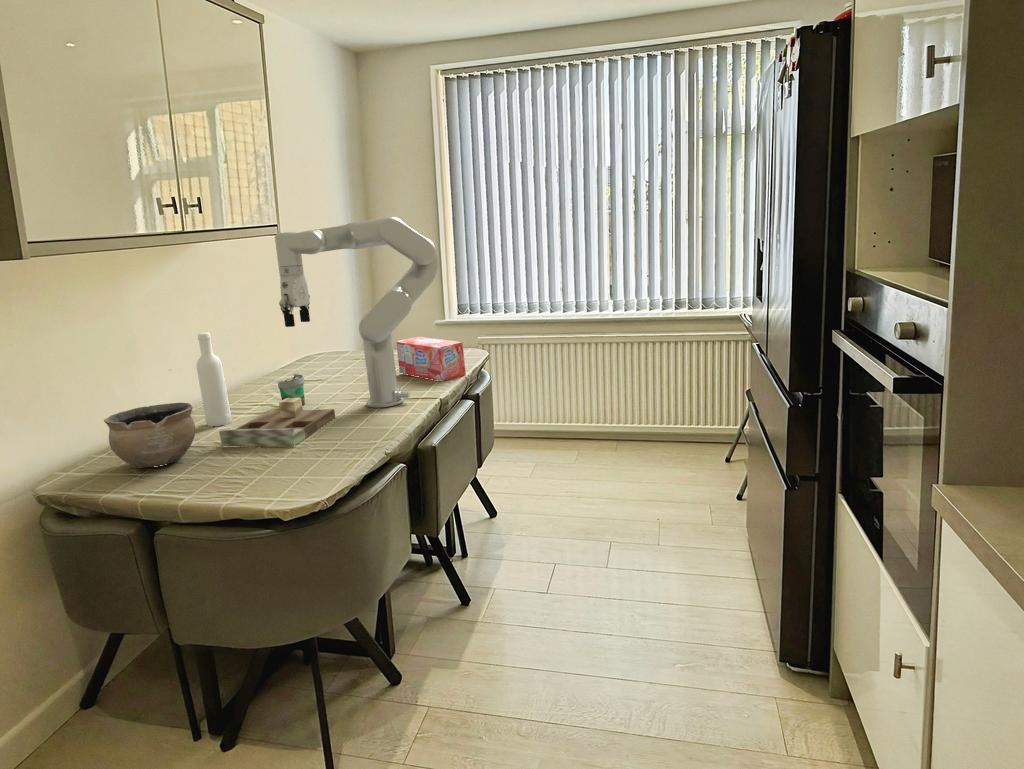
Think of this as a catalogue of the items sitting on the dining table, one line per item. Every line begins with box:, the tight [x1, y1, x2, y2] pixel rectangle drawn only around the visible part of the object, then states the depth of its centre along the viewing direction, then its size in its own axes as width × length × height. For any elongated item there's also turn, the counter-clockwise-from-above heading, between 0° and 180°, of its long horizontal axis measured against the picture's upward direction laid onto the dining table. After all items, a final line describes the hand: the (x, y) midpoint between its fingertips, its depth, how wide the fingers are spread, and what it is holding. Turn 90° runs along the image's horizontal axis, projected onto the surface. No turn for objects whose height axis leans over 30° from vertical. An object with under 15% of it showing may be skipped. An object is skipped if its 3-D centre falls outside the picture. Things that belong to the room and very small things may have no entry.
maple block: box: [278, 398, 304, 418], centre depth 237 cm, size 5×5×5 cm
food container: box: [277, 373, 306, 407], centre depth 261 cm, size 12×6×10 cm, turn 168°
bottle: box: [196, 331, 233, 427], centre depth 243 cm, size 8×8×30 cm
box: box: [396, 336, 467, 382], centre depth 292 cm, size 27×13×14 cm, turn 44°
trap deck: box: [219, 408, 336, 448], centre depth 230 cm, size 23×28×5 cm
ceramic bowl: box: [103, 402, 196, 468], centre depth 208 cm, size 22×22×15 cm
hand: (297, 324), depth 246 cm, fingers open, 9 cm apart
